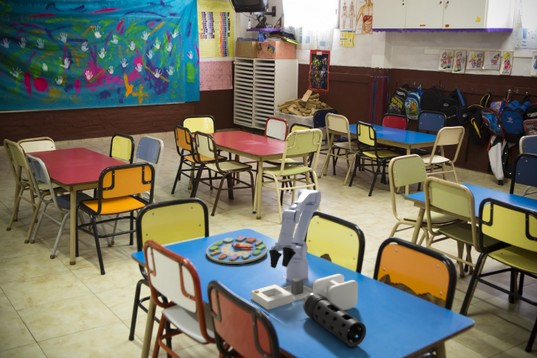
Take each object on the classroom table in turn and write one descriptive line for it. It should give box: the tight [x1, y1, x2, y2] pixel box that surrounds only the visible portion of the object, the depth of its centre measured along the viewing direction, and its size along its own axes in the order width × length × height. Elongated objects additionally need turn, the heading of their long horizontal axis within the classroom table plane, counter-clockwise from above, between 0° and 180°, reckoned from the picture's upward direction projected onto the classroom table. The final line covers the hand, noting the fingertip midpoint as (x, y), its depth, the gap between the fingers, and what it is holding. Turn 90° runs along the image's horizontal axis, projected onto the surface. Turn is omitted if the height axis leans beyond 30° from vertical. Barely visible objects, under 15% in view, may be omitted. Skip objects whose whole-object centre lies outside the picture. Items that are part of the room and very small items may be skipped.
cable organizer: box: [312, 273, 359, 311], centre depth 230 cm, size 15×11×12 cm
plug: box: [290, 277, 304, 295], centre depth 242 cm, size 4×3×6 cm
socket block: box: [250, 283, 293, 310], centre depth 235 cm, size 12×12×5 cm
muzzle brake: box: [302, 293, 367, 349], centre depth 210 cm, size 10×28×10 cm, turn 29°
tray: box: [282, 284, 313, 302], centre depth 242 cm, size 11×11×2 cm
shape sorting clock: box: [205, 235, 269, 265], centre depth 288 cm, size 31×30×6 cm
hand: (278, 266), depth 238 cm, fingers open, 7 cm apart
